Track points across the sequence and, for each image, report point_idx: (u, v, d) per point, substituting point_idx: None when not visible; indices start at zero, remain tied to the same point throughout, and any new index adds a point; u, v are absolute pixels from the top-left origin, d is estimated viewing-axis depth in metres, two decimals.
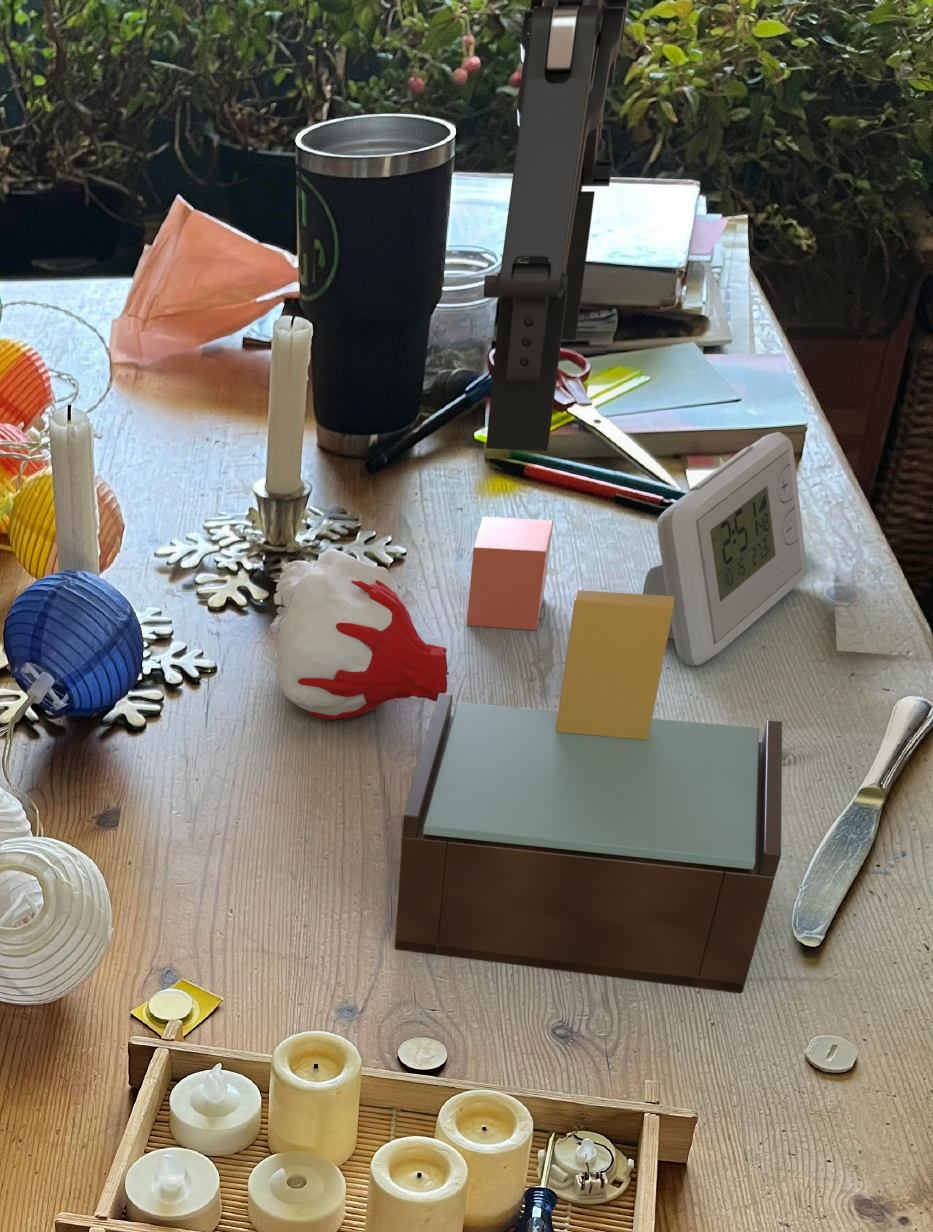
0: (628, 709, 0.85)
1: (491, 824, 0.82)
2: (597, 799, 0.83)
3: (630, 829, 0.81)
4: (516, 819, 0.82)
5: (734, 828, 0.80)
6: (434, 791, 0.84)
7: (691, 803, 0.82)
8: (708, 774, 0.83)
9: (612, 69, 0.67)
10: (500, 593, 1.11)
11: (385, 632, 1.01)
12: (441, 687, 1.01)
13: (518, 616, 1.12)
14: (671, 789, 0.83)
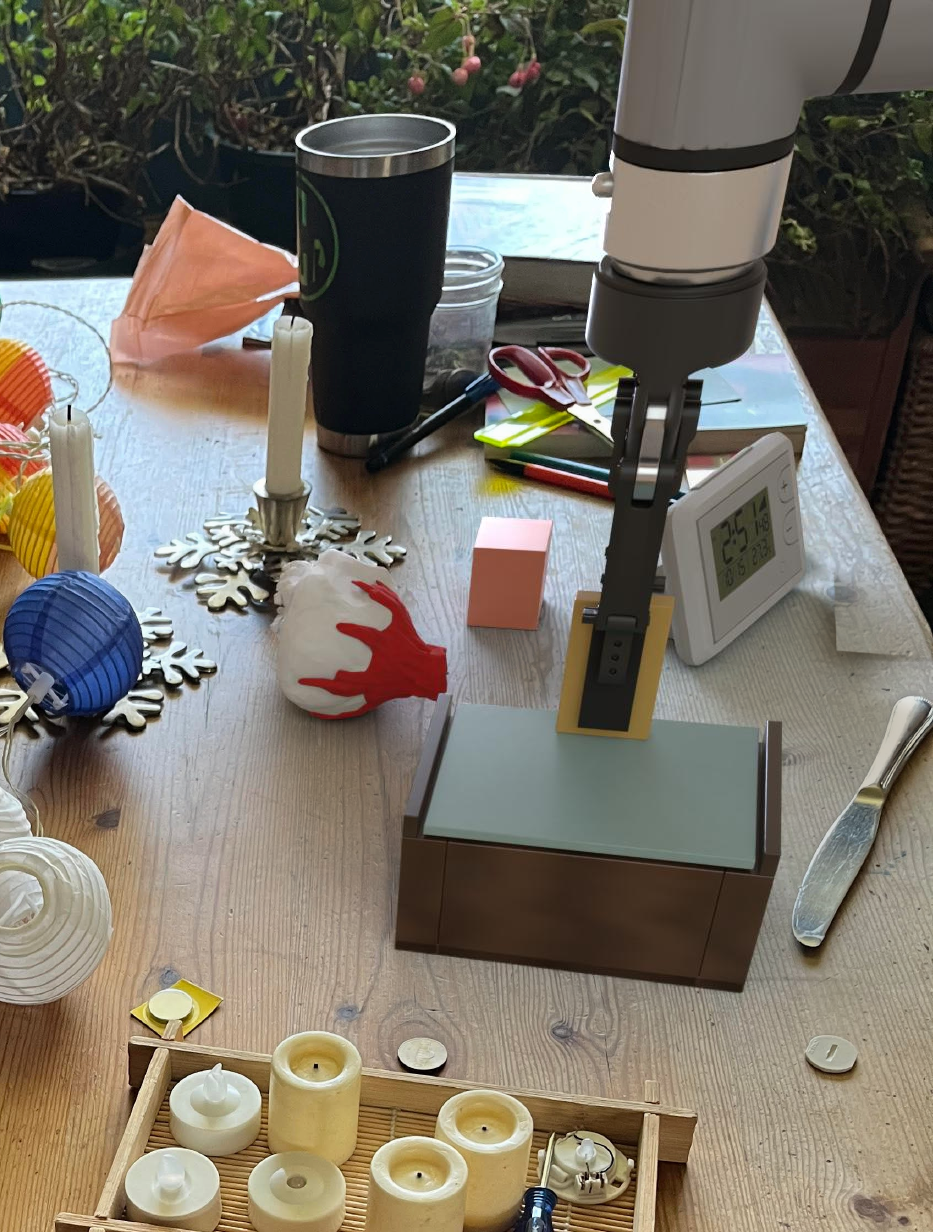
0: None
1: (491, 824, 0.82)
2: (597, 799, 0.83)
3: (630, 829, 0.81)
4: (516, 819, 0.82)
5: (734, 828, 0.80)
6: (434, 791, 0.84)
7: (691, 803, 0.82)
8: (708, 775, 0.83)
9: None
10: (500, 593, 1.11)
11: (385, 632, 1.01)
12: (441, 687, 1.01)
13: (518, 616, 1.12)
14: (671, 789, 0.83)
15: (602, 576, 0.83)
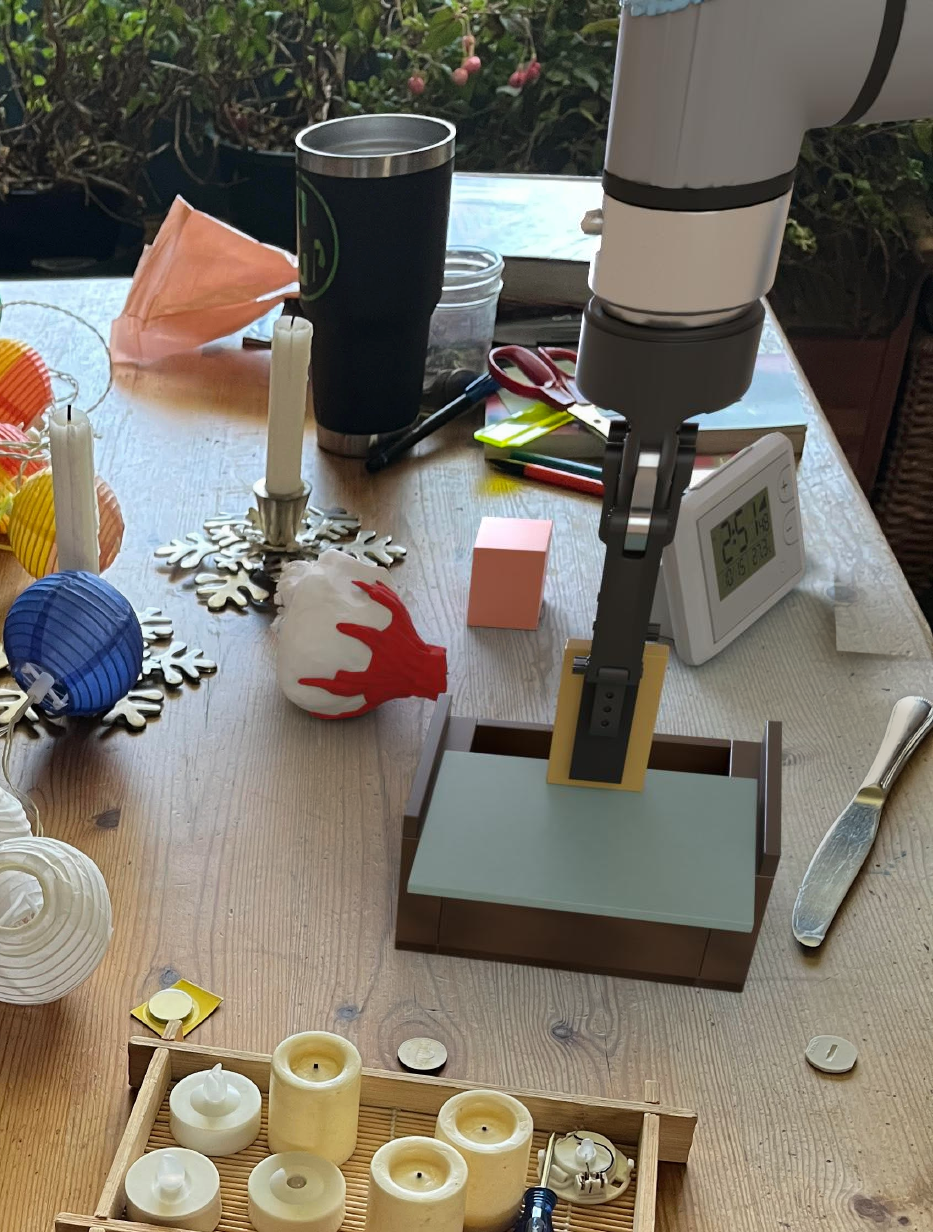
0: None
1: (477, 882, 0.78)
2: (588, 855, 0.79)
3: (623, 889, 0.77)
4: (504, 877, 0.79)
5: (731, 888, 0.77)
6: (419, 846, 0.81)
7: (687, 861, 0.78)
8: (704, 830, 0.80)
9: None
10: (500, 593, 1.11)
11: (385, 632, 1.01)
12: (441, 687, 1.01)
13: (518, 616, 1.12)
14: (666, 845, 0.79)
15: (594, 623, 0.79)
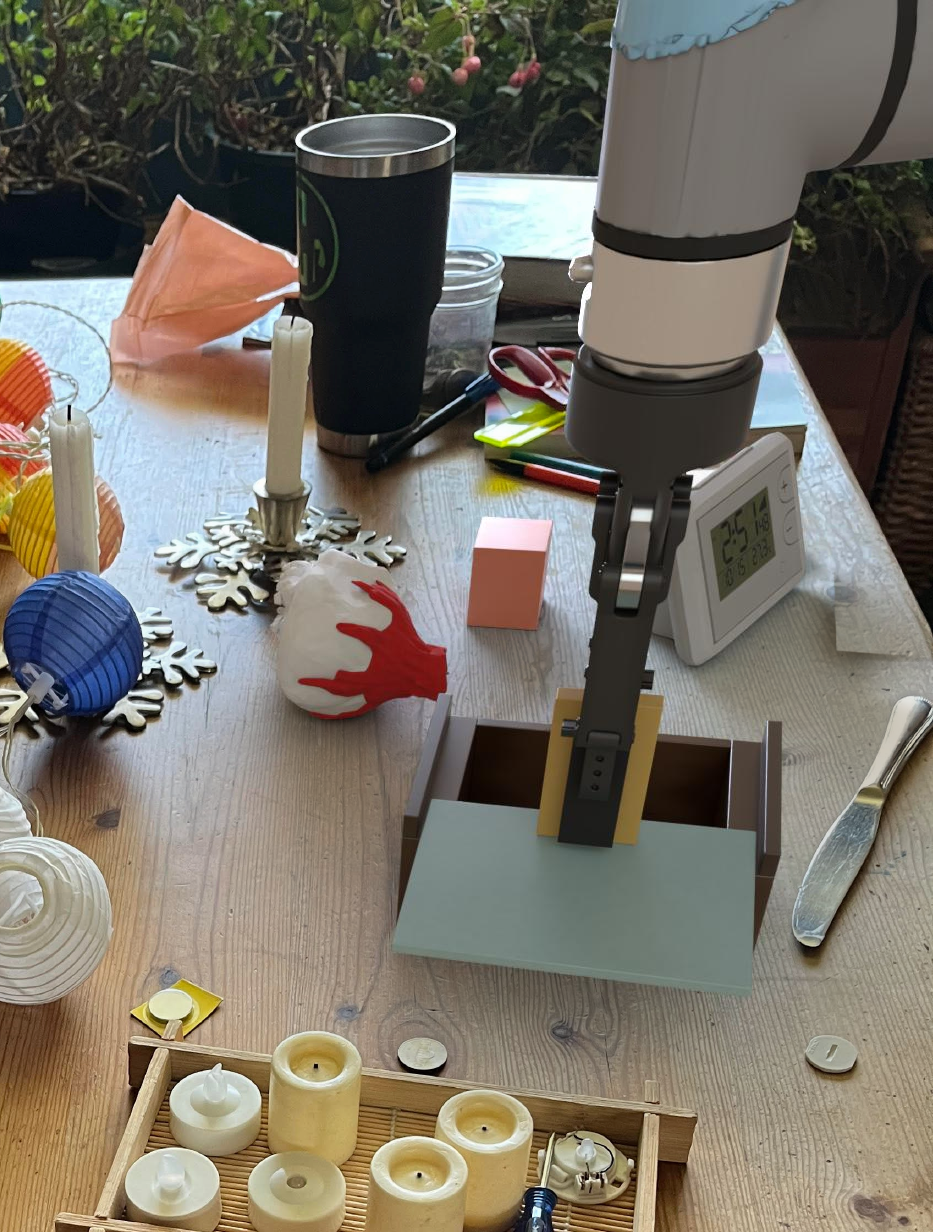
0: None
1: (464, 942, 0.75)
2: (580, 914, 0.76)
3: (615, 950, 0.74)
4: (492, 937, 0.75)
5: (729, 950, 0.73)
6: (404, 903, 0.78)
7: (682, 920, 0.75)
8: (701, 886, 0.77)
9: None
10: (500, 593, 1.11)
11: (385, 632, 1.01)
12: (441, 687, 1.01)
13: (518, 616, 1.12)
14: (660, 903, 0.76)
15: (585, 671, 0.77)
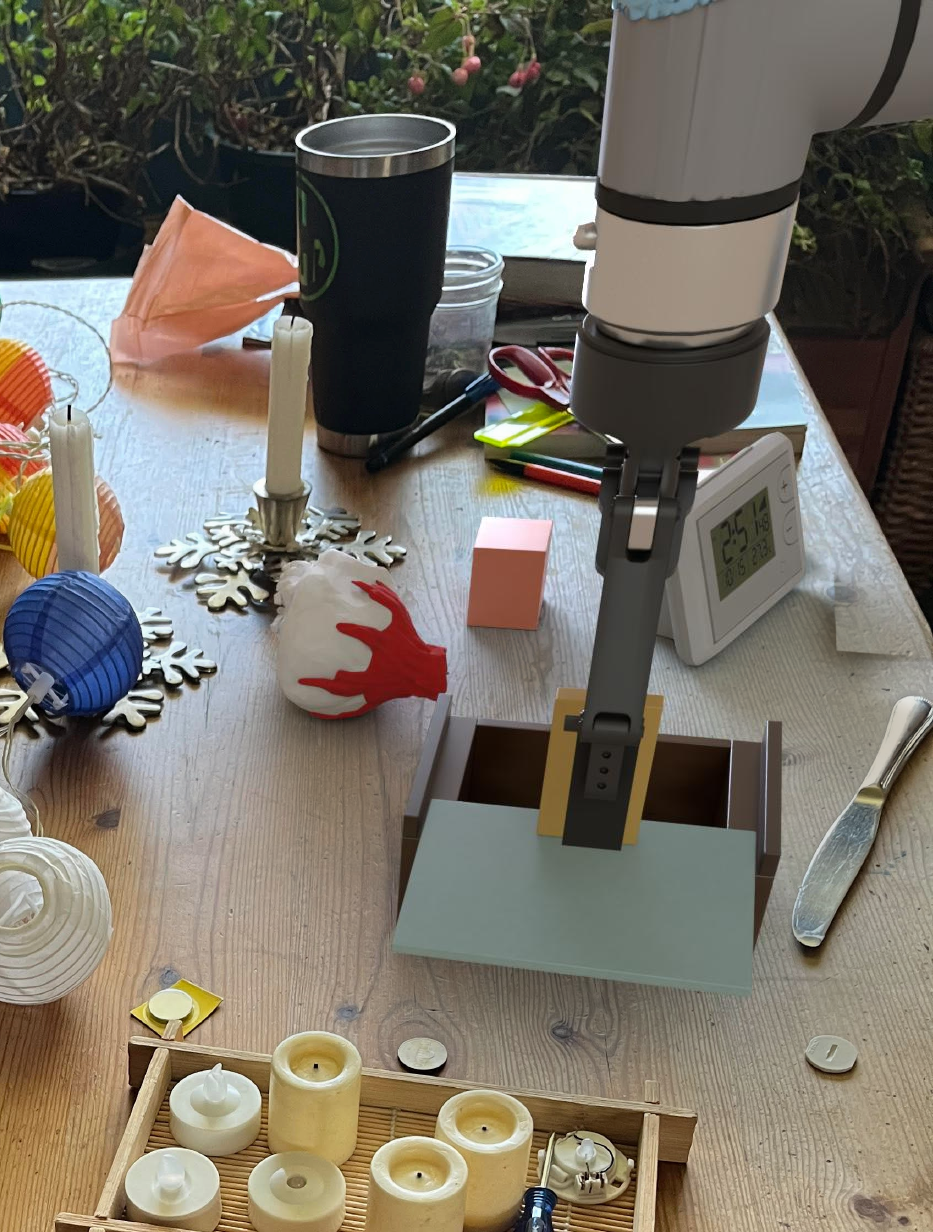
0: None
1: (464, 942, 0.75)
2: (580, 914, 0.76)
3: (615, 950, 0.74)
4: (492, 937, 0.75)
5: (729, 950, 0.73)
6: (404, 903, 0.78)
7: (682, 920, 0.75)
8: (701, 886, 0.77)
9: None
10: (500, 593, 1.11)
11: (385, 632, 1.01)
12: (441, 687, 1.01)
13: (518, 616, 1.12)
14: (660, 903, 0.76)
15: None
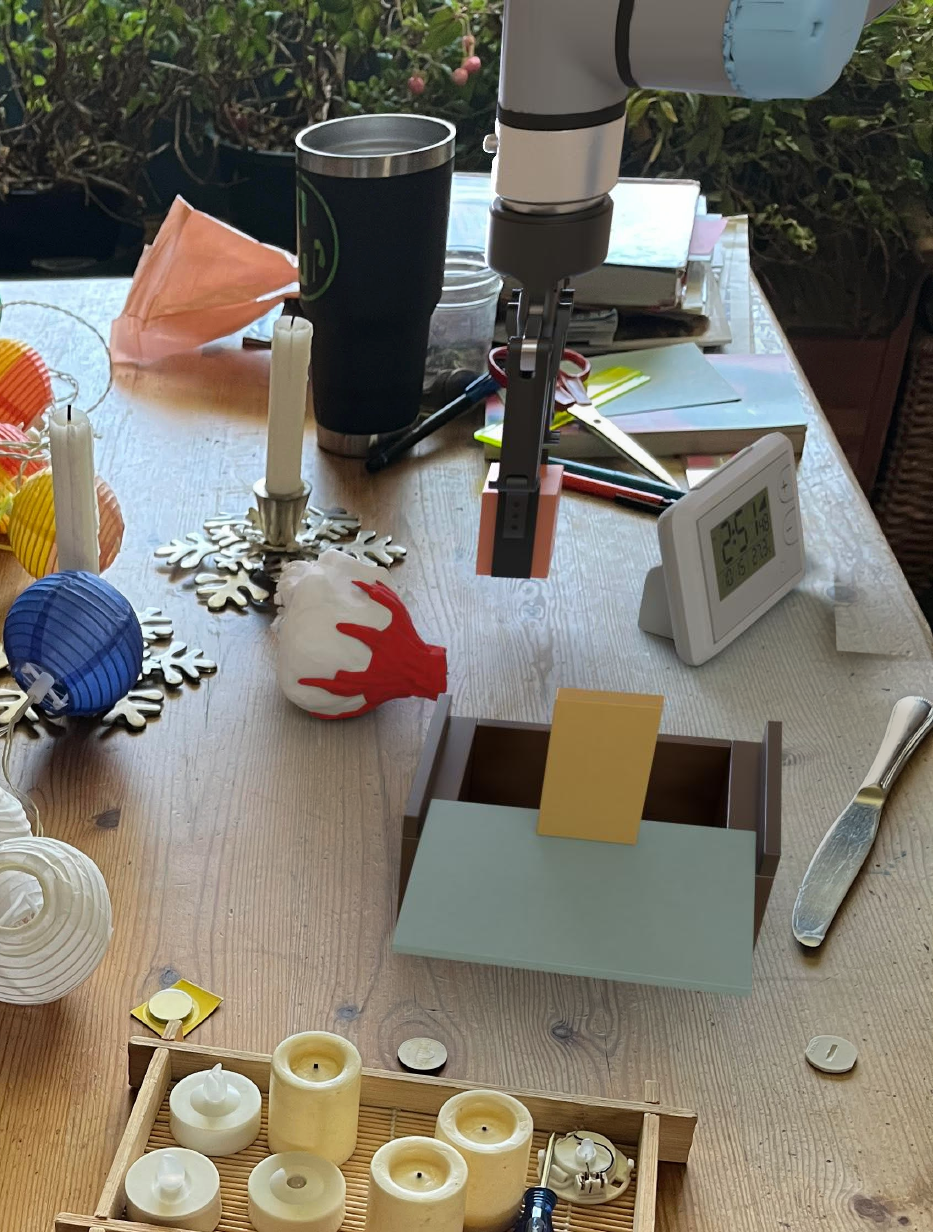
0: (614, 813, 0.79)
1: (464, 942, 0.75)
2: (580, 914, 0.76)
3: (615, 950, 0.74)
4: (492, 937, 0.75)
5: (729, 950, 0.73)
6: (404, 903, 0.78)
7: (682, 920, 0.75)
8: (701, 886, 0.77)
9: (564, 342, 1.02)
10: None
11: (385, 632, 1.01)
12: (441, 687, 1.01)
13: None
14: (660, 903, 0.76)
15: None
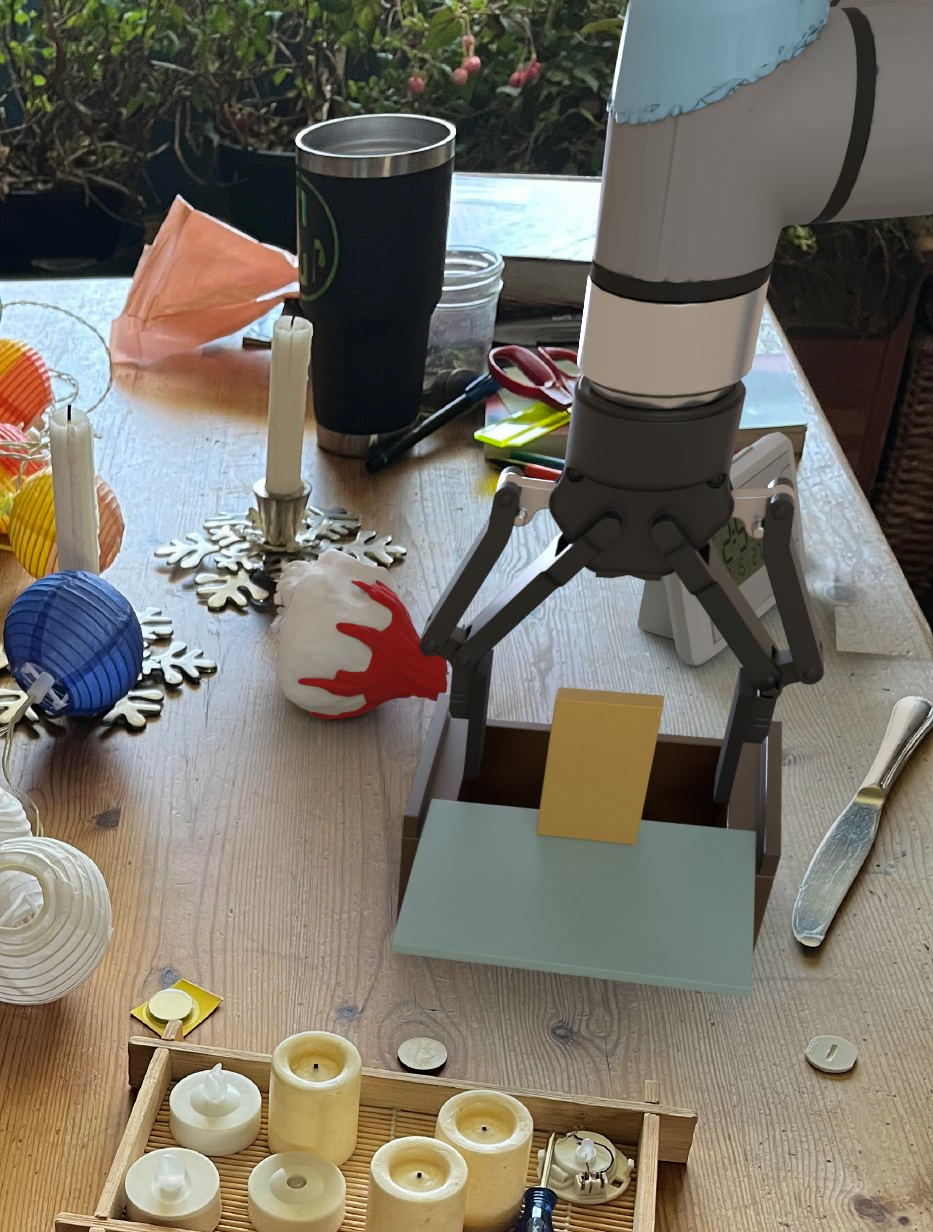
0: (614, 813, 0.79)
1: (464, 942, 0.75)
2: (580, 914, 0.76)
3: (615, 950, 0.74)
4: (492, 937, 0.75)
5: (729, 950, 0.73)
6: (404, 903, 0.78)
7: (682, 920, 0.75)
8: (701, 886, 0.77)
9: (680, 578, 0.75)
10: None
11: (385, 632, 1.01)
12: (441, 687, 1.01)
13: None
14: (660, 903, 0.76)
15: None
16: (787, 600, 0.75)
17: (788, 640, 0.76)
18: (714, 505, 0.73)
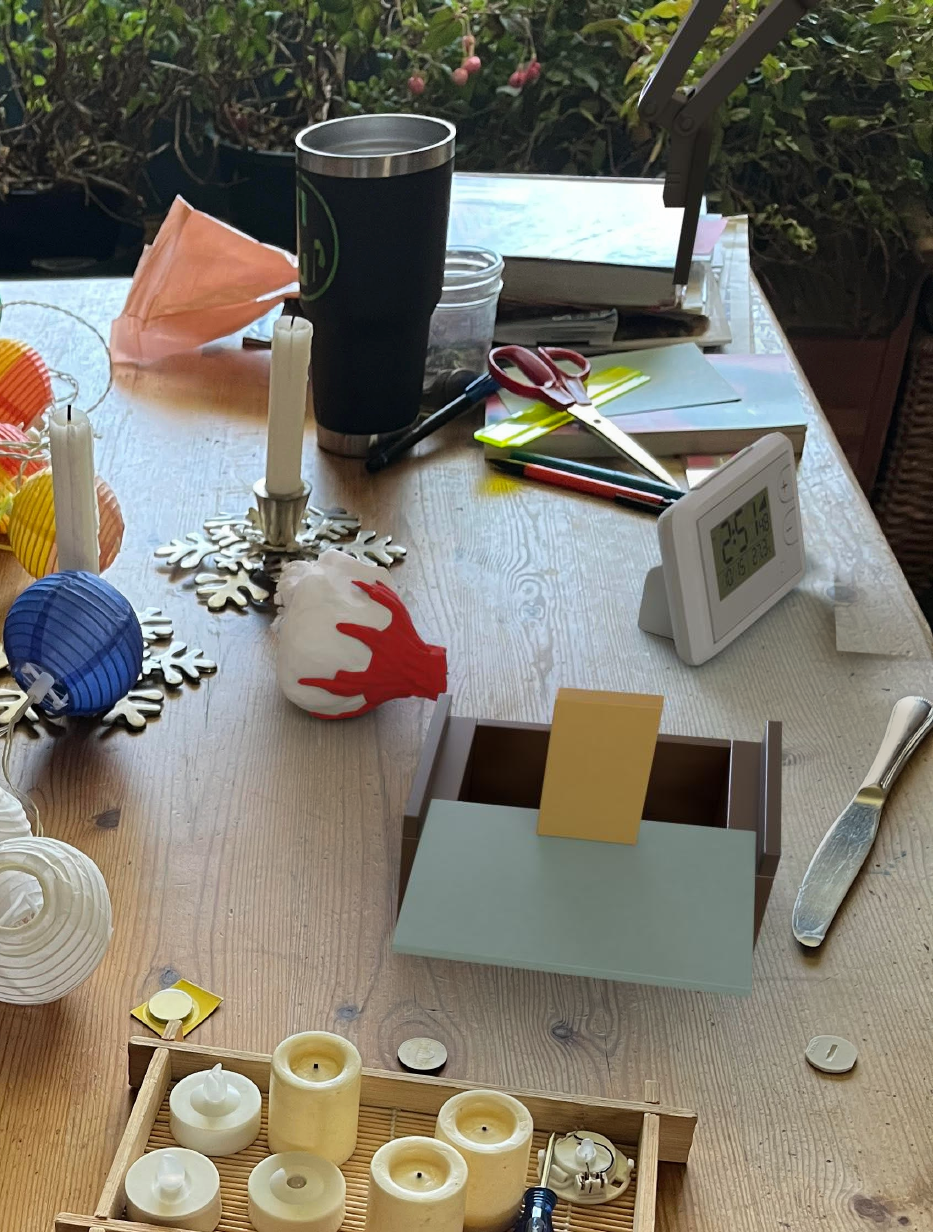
0: (614, 813, 0.79)
1: (464, 942, 0.75)
2: (580, 914, 0.76)
3: (615, 950, 0.74)
4: (492, 937, 0.75)
5: (729, 950, 0.73)
6: (404, 903, 0.78)
7: (682, 920, 0.75)
8: (701, 886, 0.77)
9: None
10: None
11: (385, 632, 1.01)
12: (441, 687, 1.01)
13: None
14: (660, 903, 0.76)
15: None
16: None
17: None
18: None
